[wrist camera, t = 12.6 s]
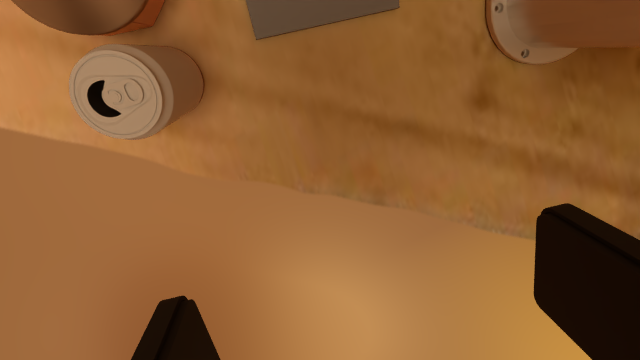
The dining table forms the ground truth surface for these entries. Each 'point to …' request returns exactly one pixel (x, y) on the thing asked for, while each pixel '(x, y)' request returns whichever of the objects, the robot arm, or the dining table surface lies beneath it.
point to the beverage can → (134, 89)
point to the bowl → (143, 17)
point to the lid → (84, 14)
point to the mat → (308, 13)
